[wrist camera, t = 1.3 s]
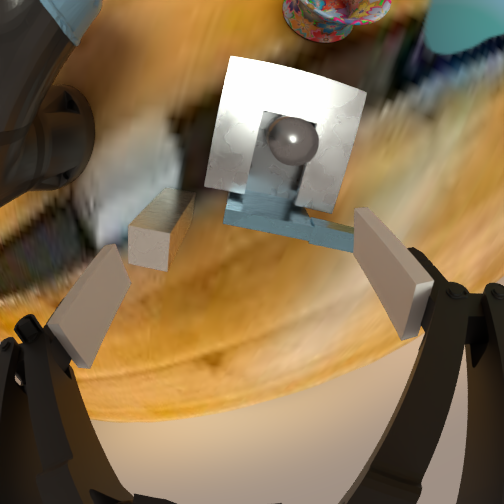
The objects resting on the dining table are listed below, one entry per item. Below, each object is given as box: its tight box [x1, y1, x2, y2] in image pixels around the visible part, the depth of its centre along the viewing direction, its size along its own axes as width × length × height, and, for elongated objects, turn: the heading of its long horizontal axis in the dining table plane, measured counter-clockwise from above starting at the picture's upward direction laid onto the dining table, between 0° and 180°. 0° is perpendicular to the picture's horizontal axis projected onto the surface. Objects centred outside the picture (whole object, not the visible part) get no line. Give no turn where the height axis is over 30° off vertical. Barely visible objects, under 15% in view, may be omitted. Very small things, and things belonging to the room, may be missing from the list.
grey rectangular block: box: [128, 188, 196, 272], centre depth 30 cm, size 4×4×12 cm
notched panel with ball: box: [204, 56, 367, 253], centre depth 26 cm, size 16×16×11 cm
